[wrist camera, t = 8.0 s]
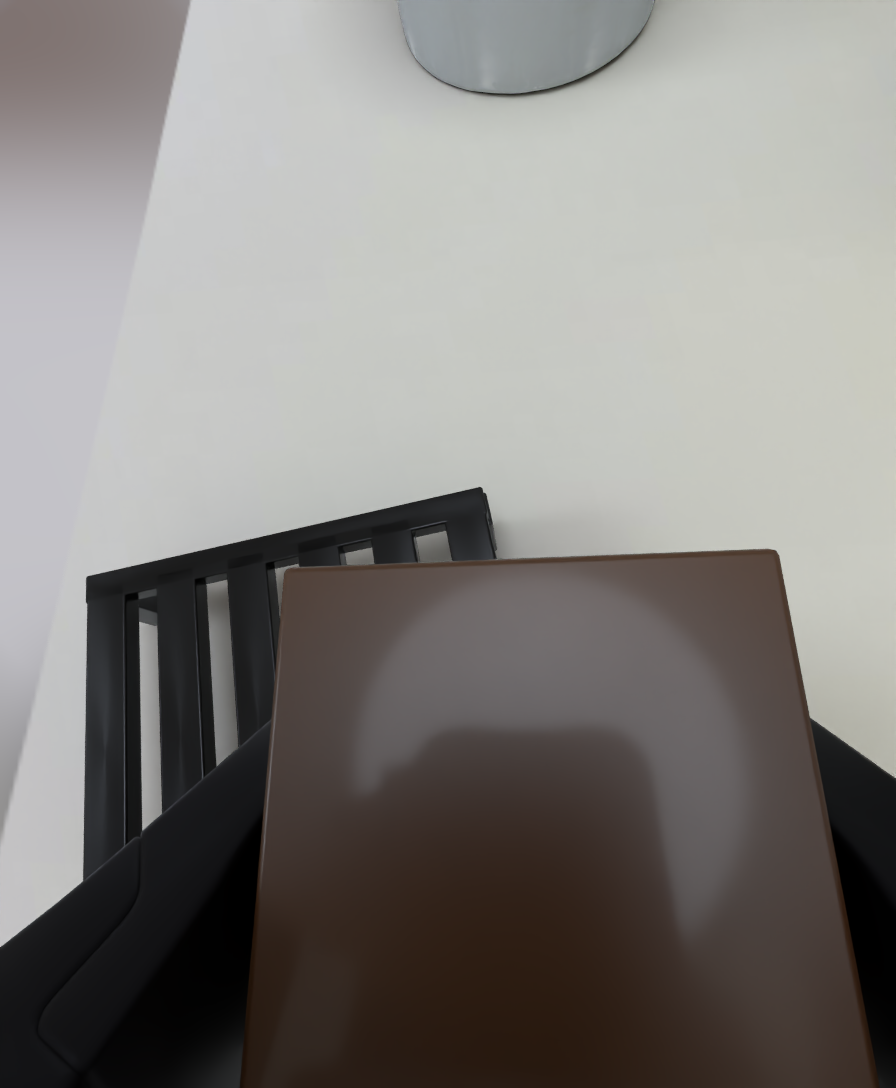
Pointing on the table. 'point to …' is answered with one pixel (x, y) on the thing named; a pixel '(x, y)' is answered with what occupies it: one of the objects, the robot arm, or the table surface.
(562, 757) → the walnut block
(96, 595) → the rack
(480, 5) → the utensil holder
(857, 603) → the table surface
